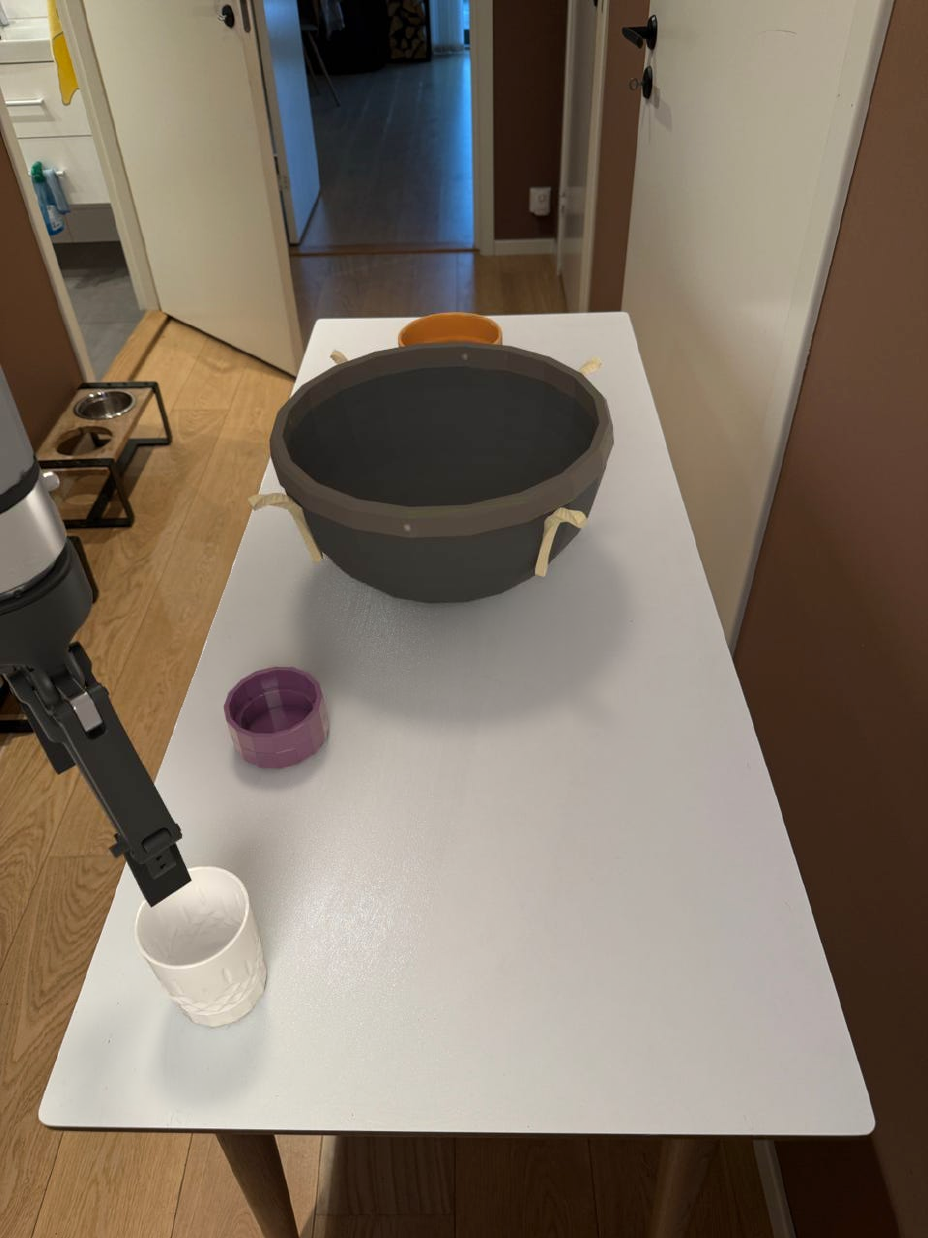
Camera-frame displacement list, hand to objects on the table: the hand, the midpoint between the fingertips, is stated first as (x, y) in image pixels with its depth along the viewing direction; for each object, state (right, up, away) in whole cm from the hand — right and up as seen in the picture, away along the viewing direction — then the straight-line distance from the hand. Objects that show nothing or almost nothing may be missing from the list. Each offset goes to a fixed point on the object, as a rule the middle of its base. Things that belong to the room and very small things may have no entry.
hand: (119, 822), depth 59 cm
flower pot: (+21, +42, +74) cm, 88 cm away
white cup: (+4, -15, +11) cm, 19 cm away
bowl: (+21, +19, +48) cm, 56 cm away
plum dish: (+5, +2, +30) cm, 30 cm away
